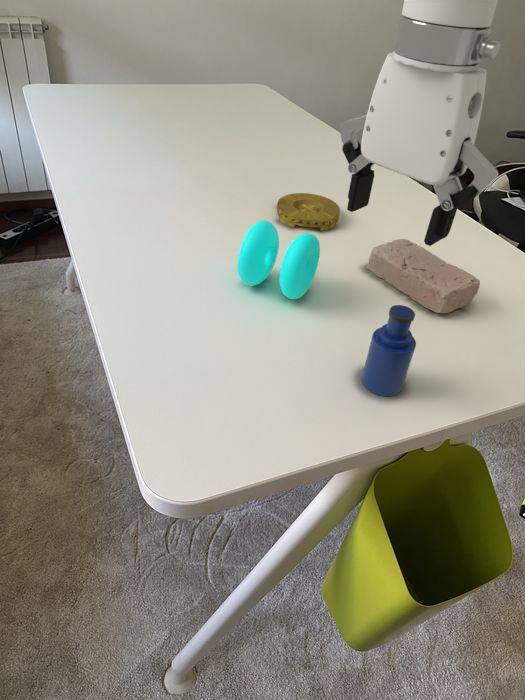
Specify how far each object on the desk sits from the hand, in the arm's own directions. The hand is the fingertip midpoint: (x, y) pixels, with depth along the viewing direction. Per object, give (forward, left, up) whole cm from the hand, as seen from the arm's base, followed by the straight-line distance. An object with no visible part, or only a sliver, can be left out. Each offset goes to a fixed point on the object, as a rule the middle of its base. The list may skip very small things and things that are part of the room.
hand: (393, 224), depth 59 cm
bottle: (-3, +1, -21) cm, 21 cm away
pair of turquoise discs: (+17, -13, -21) cm, 30 cm away
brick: (-3, -25, -21) cm, 33 cm away
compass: (+21, -40, -21) cm, 50 cm away
